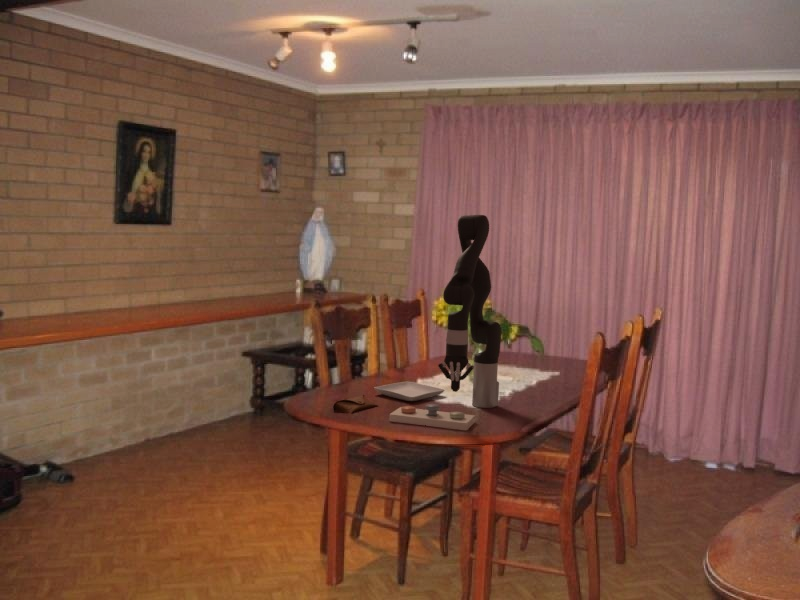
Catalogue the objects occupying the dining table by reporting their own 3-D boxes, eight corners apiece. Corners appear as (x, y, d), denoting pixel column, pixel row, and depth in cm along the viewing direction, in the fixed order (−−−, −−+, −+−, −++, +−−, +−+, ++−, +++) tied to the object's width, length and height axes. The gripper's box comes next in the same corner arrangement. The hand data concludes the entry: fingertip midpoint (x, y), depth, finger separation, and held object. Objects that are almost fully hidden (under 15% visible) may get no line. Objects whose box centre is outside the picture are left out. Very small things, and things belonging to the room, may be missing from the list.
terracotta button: (411, 415, 285) (411, 405, 285) (417, 419, 280) (418, 409, 280) (398, 417, 283) (398, 406, 282) (404, 420, 278) (405, 410, 278)
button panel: (474, 422, 280) (474, 415, 280) (466, 430, 269) (466, 423, 268) (400, 413, 289) (400, 406, 289) (389, 421, 278) (389, 414, 277)
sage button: (459, 421, 279) (459, 411, 279) (466, 425, 275) (467, 414, 274) (446, 422, 277) (447, 412, 277) (454, 426, 272) (454, 415, 272)
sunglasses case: (350, 414, 285) (343, 397, 287) (337, 421, 289) (330, 404, 290) (380, 405, 300) (373, 389, 301) (367, 412, 304) (360, 396, 305)
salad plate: (445, 396, 320) (446, 388, 320) (411, 405, 304) (412, 396, 304) (407, 388, 334) (407, 380, 334) (372, 395, 318) (372, 387, 318)
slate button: (435, 413, 282) (435, 403, 282) (442, 417, 277) (442, 406, 277) (422, 415, 280) (422, 404, 279) (429, 418, 275) (429, 407, 275)
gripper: (478, 342, 275) (476, 390, 276) (441, 339, 279) (439, 387, 280) (473, 345, 268) (471, 395, 269) (435, 342, 272) (434, 391, 273)
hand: (455, 391), depth 275 cm, fingers closed
